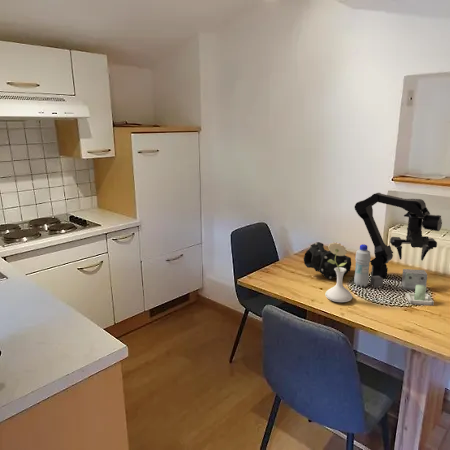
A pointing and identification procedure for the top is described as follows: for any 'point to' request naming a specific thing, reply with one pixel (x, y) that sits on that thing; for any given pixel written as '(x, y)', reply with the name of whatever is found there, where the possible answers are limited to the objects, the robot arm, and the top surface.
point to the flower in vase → (338, 276)
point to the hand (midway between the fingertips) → (411, 259)
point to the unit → (413, 278)
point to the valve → (325, 260)
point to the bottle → (362, 266)
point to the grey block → (376, 281)
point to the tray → (419, 302)
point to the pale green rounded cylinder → (420, 292)
